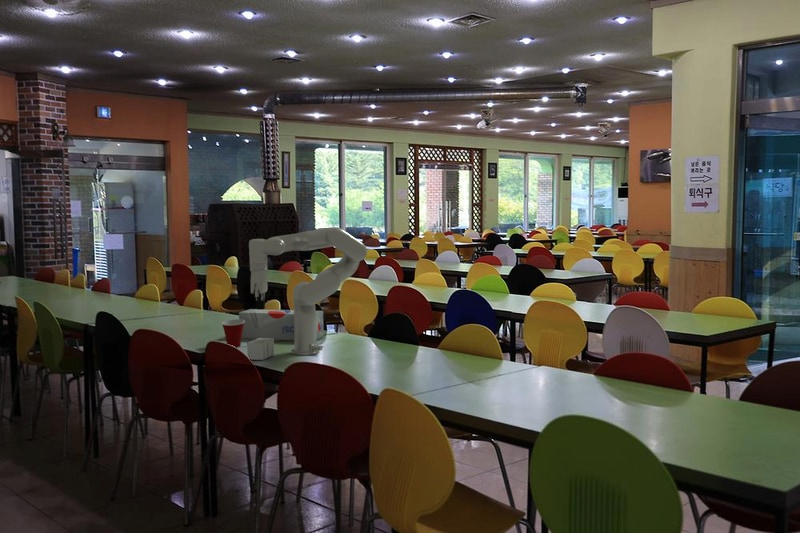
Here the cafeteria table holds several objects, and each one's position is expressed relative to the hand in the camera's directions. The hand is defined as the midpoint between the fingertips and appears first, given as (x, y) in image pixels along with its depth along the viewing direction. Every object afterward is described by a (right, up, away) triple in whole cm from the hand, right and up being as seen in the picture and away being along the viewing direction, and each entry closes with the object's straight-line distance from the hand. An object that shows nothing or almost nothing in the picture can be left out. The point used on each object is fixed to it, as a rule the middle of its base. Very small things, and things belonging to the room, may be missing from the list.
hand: (260, 309), depth 331 cm
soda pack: (+2, -17, +45) cm, 48 cm away
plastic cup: (-17, -19, +22) cm, 34 cm away
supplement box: (+2, -16, +2) cm, 17 cm away
